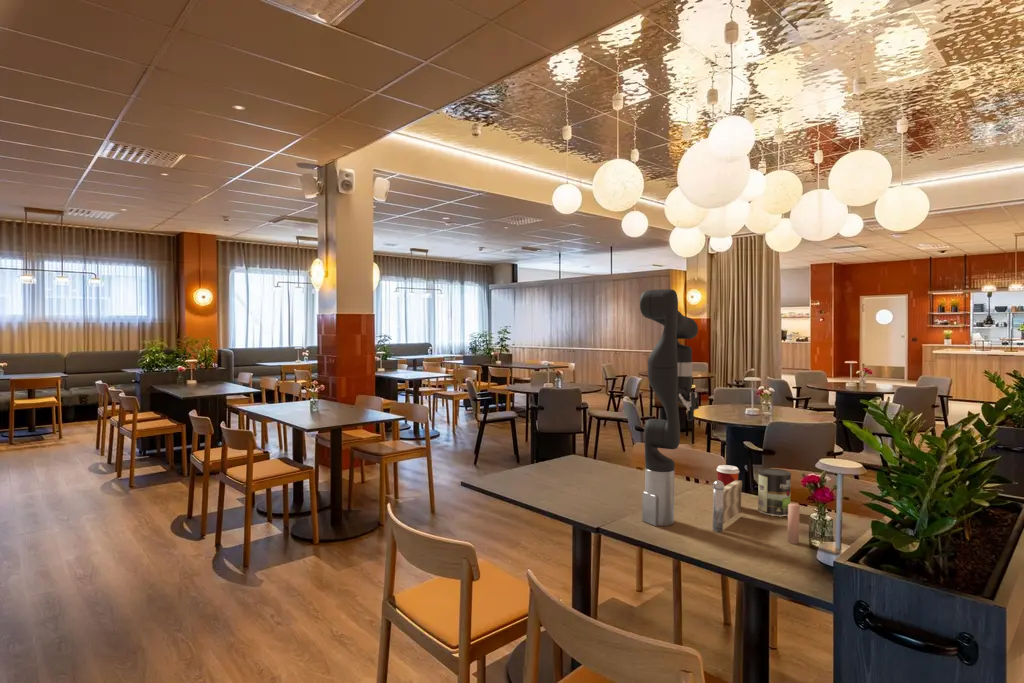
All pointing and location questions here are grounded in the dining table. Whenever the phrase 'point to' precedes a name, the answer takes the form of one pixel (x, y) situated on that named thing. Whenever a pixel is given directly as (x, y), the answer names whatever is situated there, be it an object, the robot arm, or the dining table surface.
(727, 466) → the paper cup
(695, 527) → the dining table surface
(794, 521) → the post
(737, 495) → the light wood flat panel
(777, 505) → the coffee can
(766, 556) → the dining table surface
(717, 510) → the hinge post
